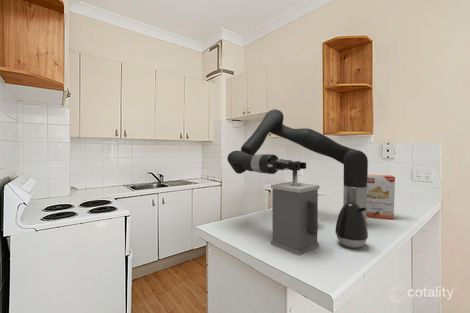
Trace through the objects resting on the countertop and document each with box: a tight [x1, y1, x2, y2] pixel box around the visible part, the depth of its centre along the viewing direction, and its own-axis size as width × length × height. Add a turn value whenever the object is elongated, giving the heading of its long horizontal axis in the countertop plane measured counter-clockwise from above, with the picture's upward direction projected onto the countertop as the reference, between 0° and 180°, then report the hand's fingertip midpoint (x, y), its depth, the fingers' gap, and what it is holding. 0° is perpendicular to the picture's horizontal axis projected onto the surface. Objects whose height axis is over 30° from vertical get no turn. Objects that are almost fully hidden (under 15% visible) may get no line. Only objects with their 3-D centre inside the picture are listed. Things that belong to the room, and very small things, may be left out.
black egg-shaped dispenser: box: [335, 202, 369, 249], centre depth 81 cm, size 10×10×15 cm
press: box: [270, 181, 320, 256], centre depth 81 cm, size 12×14×21 cm
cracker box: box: [366, 174, 396, 221], centre depth 115 cm, size 14×6×21 cm, turn 68°
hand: (302, 166), depth 79 cm, fingers closed on plunger, 3 cm apart
